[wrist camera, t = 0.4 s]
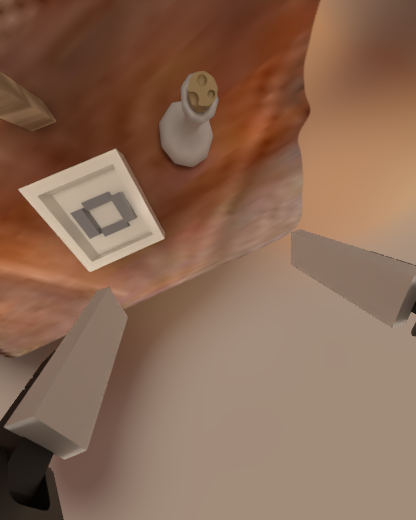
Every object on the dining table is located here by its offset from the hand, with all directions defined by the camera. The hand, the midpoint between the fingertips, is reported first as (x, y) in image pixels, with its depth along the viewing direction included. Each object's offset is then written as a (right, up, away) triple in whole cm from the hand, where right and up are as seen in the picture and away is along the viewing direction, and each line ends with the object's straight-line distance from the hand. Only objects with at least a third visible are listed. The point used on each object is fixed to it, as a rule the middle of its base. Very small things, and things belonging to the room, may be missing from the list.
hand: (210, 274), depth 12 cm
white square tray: (-19, +10, +20) cm, 30 cm away
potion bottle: (-4, +23, +18) cm, 30 cm away
